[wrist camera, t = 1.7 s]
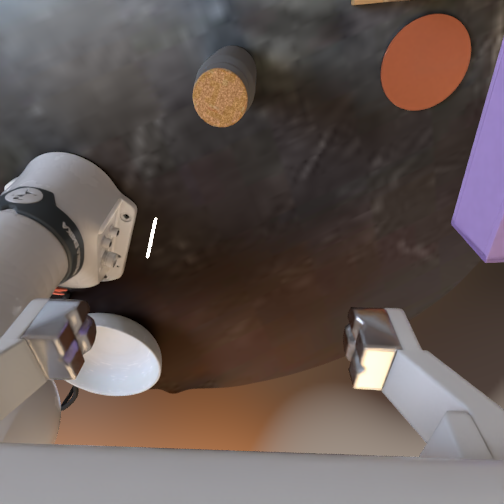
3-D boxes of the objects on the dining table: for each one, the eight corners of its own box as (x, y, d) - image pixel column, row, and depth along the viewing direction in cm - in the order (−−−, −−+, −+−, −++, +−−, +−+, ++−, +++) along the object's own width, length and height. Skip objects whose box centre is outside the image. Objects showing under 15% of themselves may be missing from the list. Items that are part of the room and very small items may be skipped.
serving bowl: (74, 364, 75) (59, 393, 69) (51, 292, 63) (30, 320, 57) (170, 372, 76) (163, 401, 70) (166, 302, 64) (156, 330, 58)
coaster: (442, 116, 44) (444, 117, 44) (367, 101, 43) (368, 102, 43) (487, 24, 38) (489, 24, 38) (401, 4, 38) (403, 4, 37)
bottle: (266, 71, 42) (268, 96, 29) (235, 109, 44) (224, 147, 32) (229, 32, 39) (214, 42, 27) (198, 75, 42) (172, 101, 30)
